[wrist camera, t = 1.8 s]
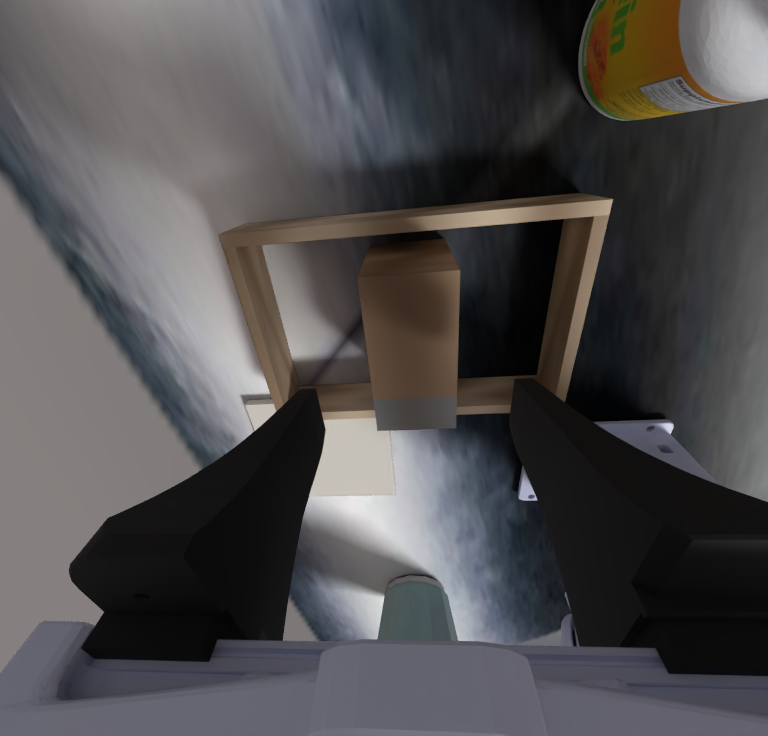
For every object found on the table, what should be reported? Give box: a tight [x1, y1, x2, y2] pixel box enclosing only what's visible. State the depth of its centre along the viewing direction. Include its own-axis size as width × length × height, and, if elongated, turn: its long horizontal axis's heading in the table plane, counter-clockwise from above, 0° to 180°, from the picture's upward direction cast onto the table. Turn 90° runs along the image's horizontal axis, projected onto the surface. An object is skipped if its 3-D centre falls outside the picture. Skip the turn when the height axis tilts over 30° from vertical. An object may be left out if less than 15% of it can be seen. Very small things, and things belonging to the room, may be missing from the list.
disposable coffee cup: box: [378, 575, 458, 641], centre depth 31 cm, size 11×11×15 cm
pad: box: [245, 399, 396, 497], centre depth 26 cm, size 10×10×1 cm
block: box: [357, 239, 460, 431], centre depth 18 cm, size 4×8×6 cm, turn 5°
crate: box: [219, 193, 613, 420], centre depth 19 cm, size 17×11×3 cm, turn 95°
